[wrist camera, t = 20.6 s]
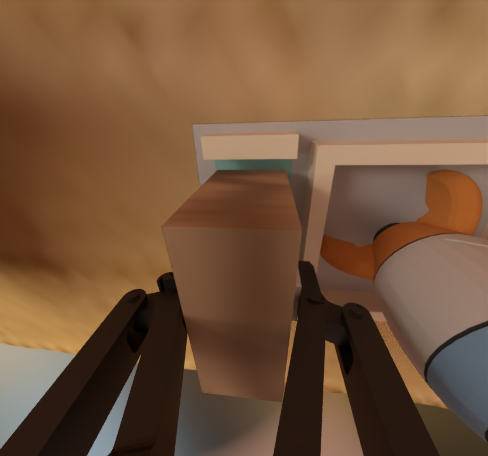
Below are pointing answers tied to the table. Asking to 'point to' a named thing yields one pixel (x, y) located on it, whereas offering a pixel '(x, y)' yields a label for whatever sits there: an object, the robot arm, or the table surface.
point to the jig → (351, 177)
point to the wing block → (238, 279)
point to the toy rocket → (434, 291)
